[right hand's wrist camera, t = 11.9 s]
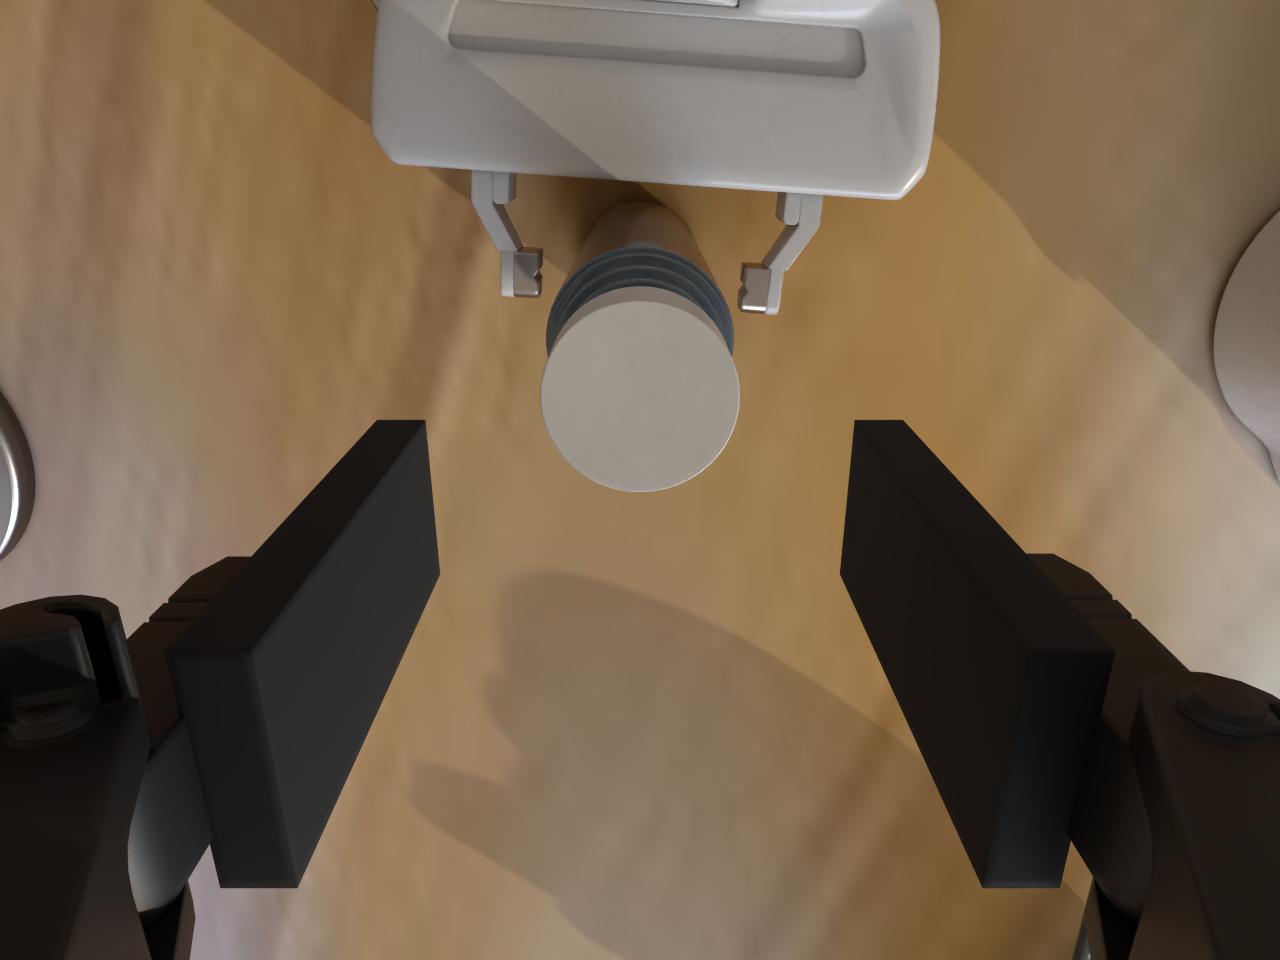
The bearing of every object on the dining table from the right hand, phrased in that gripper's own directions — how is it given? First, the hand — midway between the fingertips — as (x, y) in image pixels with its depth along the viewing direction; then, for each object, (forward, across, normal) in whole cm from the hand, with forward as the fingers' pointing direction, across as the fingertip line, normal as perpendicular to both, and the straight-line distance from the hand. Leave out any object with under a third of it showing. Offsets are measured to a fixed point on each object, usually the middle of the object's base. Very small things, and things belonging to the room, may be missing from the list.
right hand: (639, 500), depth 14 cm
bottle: (+29, 0, 0) cm, 29 cm away
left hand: (+22, 0, -1) cm, 22 cm away
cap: (+6, 0, 0) cm, 6 cm away
